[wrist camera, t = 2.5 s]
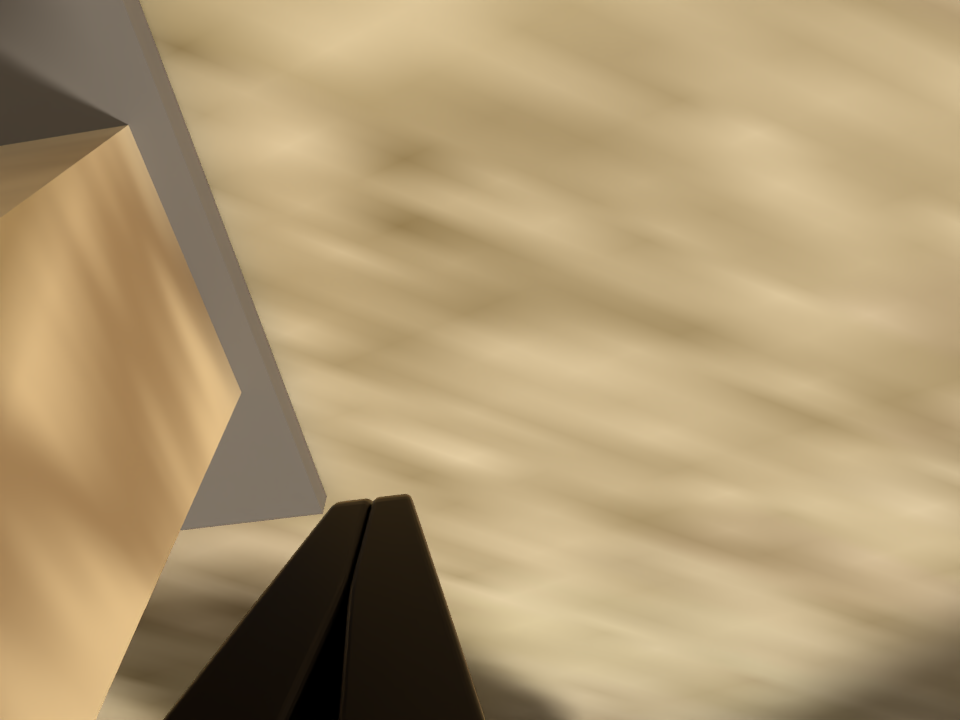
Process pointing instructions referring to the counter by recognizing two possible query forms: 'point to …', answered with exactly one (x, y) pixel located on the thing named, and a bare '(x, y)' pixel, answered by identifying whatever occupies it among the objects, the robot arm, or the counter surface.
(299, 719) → the robot arm
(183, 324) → the birch block
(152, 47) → the rubber mat
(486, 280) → the counter surface
